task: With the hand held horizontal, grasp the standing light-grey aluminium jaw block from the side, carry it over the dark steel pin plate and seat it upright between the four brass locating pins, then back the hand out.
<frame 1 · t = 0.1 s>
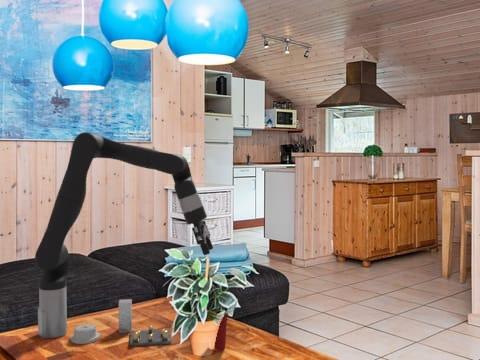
hand: (208, 251, 176), 31 cm above the table, tool tilted 20°, fingers open, 8 cm apart
mechanical component: (85, 340, 178), on the table
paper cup: (216, 348, 171), on the table
pin plate: (150, 338, 178), on the table
jaw block: (125, 330, 187), on the table
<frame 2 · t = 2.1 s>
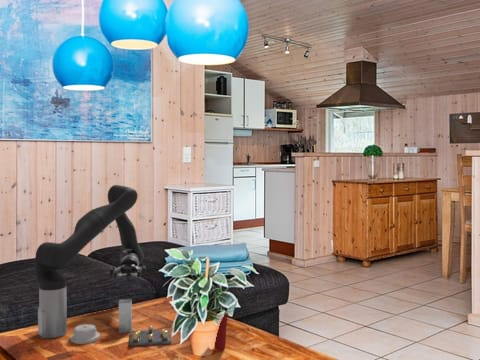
hand: (127, 275, 196), 18 cm above the table, tool horizontal, fingers open, 8 cm apart
nothing on the table moved.
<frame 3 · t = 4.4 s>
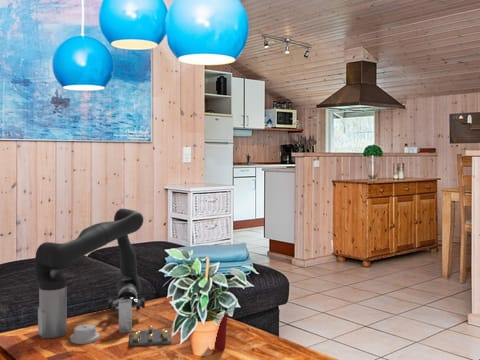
hand: (126, 308, 193), 6 cm above the table, tool horizontal, fingers open, 8 cm apart
nothing on the table moved.
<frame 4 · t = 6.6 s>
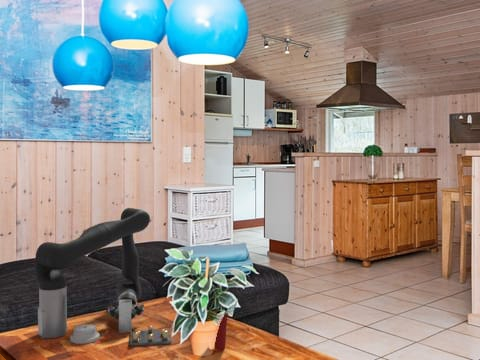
hand: (125, 316, 184), 6 cm above the table, tool horizontal, fingers closed on jaw block, 4 cm apart
jaw block: (125, 330, 187), on the table, touching gripper
everything else where it was.
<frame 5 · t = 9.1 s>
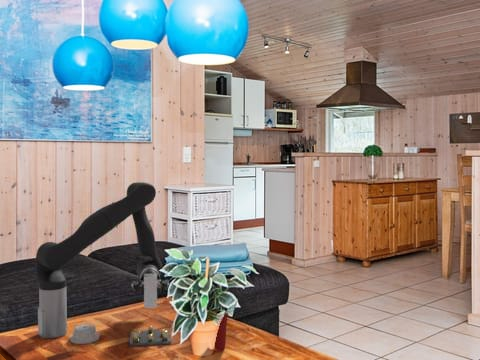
hand: (150, 290, 175), 18 cm above the table, tool horizontal, fingers closed on jaw block, 4 cm apart
jaw block: (150, 305, 178), point 12 cm above the table, touching gripper
everything else where it was.
when the fingers open (8 cm above the table, at t = 11.8 s): jaw block drops 1 cm, resting on pin plate.
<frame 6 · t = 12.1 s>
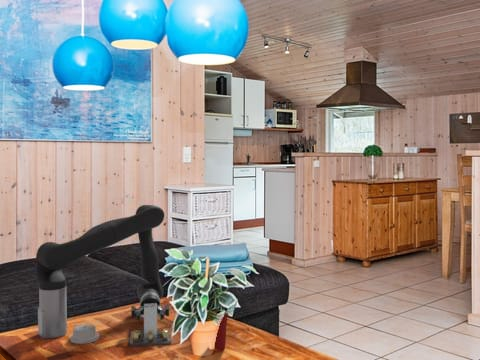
hand: (150, 317, 176), 8 cm above the table, tool horizontal, fingers open, 7 cm apart
jaw block: (150, 335, 178), point 1 cm above the table, touching pin plate
everything else where it was.
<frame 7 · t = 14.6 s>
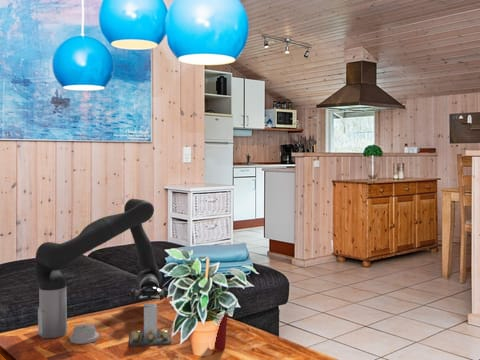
hand: (149, 297, 188), 12 cm above the table, tool horizontal, fingers open, 8 cm apart
nothing on the table moved.
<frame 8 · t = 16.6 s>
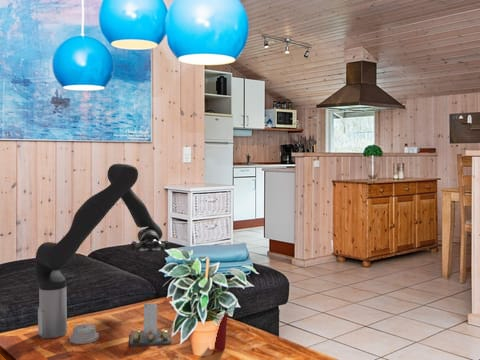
hand: (150, 249, 188), 30 cm above the table, tool horizontal, fingers open, 8 cm apart
nothing on the table moved.
at the end: jaw block 0.0 cm off-centre on the pin plate, point 1.0 cm above the pin plate's base; jaw block tilted 0°; the gripper is holding nothing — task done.
